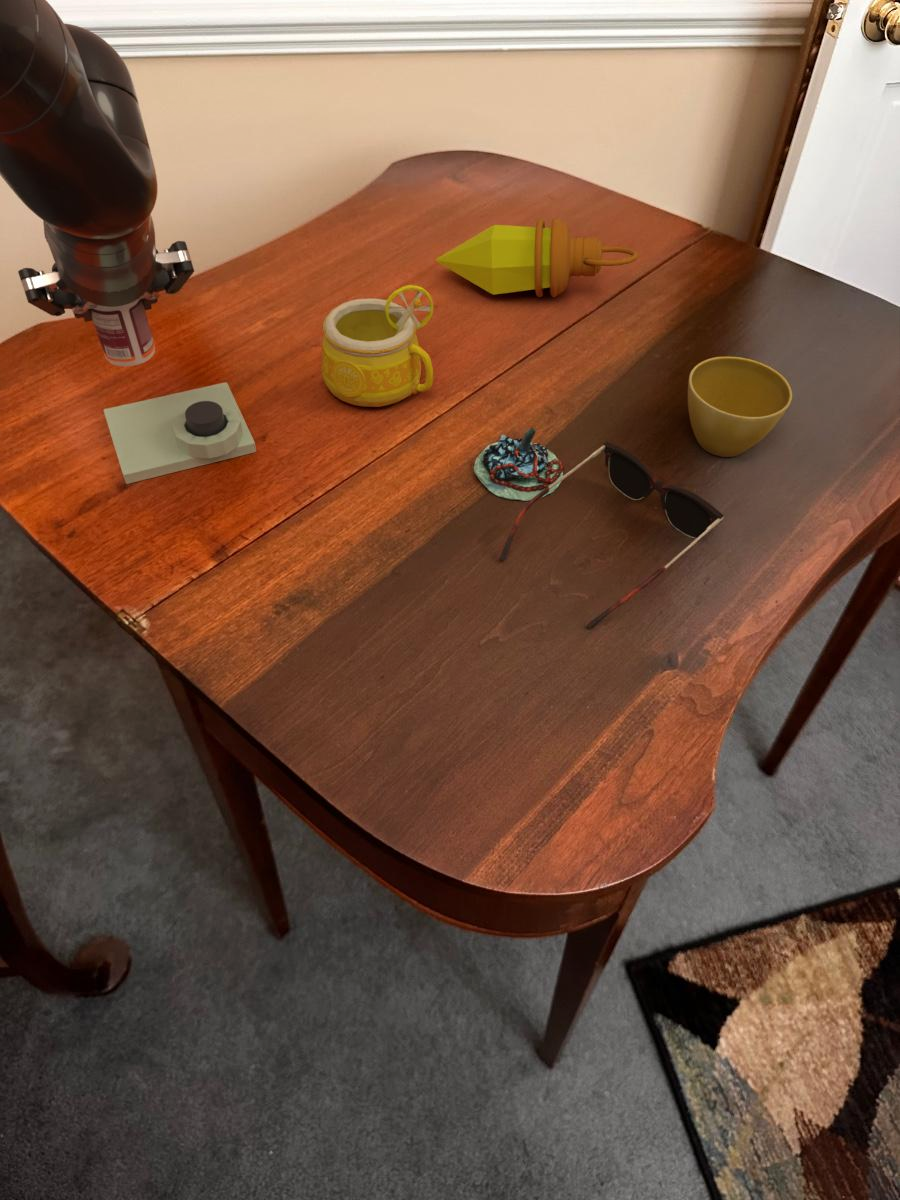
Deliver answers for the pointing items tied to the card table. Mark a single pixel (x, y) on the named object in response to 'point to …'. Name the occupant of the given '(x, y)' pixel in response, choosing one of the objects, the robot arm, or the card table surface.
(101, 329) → the pill bottle
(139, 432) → the scale
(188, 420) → the button
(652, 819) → the card table surface
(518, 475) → the dish
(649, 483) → the sunglasses
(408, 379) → the mug
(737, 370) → the flower pot
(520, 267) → the plumb bob
